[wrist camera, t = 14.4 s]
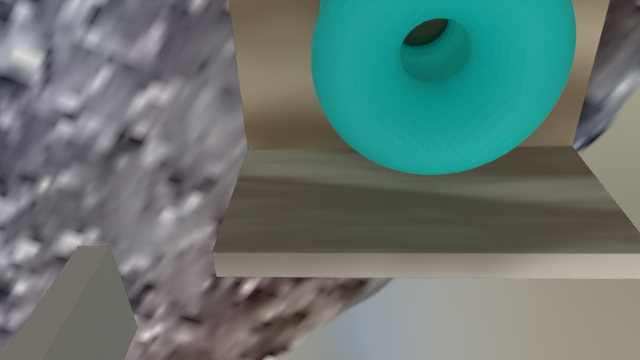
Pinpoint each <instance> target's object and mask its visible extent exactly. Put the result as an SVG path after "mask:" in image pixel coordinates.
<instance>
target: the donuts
mask: <svg viewBox="0 0 640 360" xmlns="http://www.w3.org/2000/svg"><path fill="white" fill-rule="evenodd" d="M436 18H444V19H448V24H447V26H446V28H445V30H444V31H443V33H442V34H441V35H440V36H439V37H438V38H437V39H436V40H434V41H432V42H431V43H429V44H426V45H422V46H409V45H406V44H404V43H403V41H404V39H405V38H406V36H407V35H408V34H409V32H410V31H411V30H413V29H414V28H415V27H416V26H418V25H419V24H421V23H423V22H425V21H428V20H432V19H436ZM575 48H576V20H575V13H574V8H573V4H572V0H320V9H319V14H318V17H317V21H316V24H315V28H314V33H313V39H312V46H311V70H312V79H313V83H314V88H315V92H316V95H317V98H318V100H319V103H320V105H321V107H322V109H323V112H324V113H325V115H326V117H327V119H328V120H329V122H330V124H331V125H332V126H333V128H334V129H335V131H336V132H337V133H338V134H339V135H340V137H341V138H342V139H343V140H344V141H345V142H346V143H347V144H348V145H350V146H351V147H352V148H353V149H354V150H356V151H357V152H358V153H360V154H361V155H363V156H364V157H366V158H368V159H370V160H371V161H373V162H375V163H378V164H380V165H382V166H385V167H388V168H390V169H394V170H397V171H401V172H406V173H411V174H420V175H442V174H451V173H457V172H462V171H466V170H470V169H473V168H476V167H479V166H481V165H484V164H487V163H489V162H491V161H493V160H495V159H497V158H499V157H501V156H503V155H504V154H506V153H507V152H509V151H511V150H512V149H514V148H515V147H516V146H518V145H519V144H520V143H522V142H523V141H524V140H525V139H526V138H528V137H529V136H530V135H531V134H532V133H533V132H534V131H535V130H536V129H537V128H538V127H539V126H540V124H541V123H542V122H543V121H544V120H545V118H546V117H547V116H548V115H549V113H550V112H551V110H552V109H553V107H554V106H555V104H556V102H557V101H558V99H559V97H560V95H561V93H562V91H563V89H564V87H565V85H566V82H567V80H568V77H569V74H570V71H571V68H572V64H573V60H574V55H575Z"/></svg>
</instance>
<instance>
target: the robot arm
mask: <svg viewBox="0 0 640 360" xmlns="http://www.w3.org/2000/svg"><path fill="white" fill-rule="evenodd" d="M137 328H138V327H137V324H136V321H135V318H134V315H133V312H132V309H131V306H130V303H129V300H128V297H127V295H126V292H125V289H124V286H123V283H122V280H121V277H120V274H119V271H118V268H117V265H116V262H115V260H114V257H113V254H112V251H111V248H110V246H78V247H77V249H76V250H75V251H74V253H73V254H72V256H71V257H70V259H69V260H68V262H67V263H66V265H65V266H64V268H63V269H62V271H61V272H60V273H59V275H58V276H57V278H56V279H55V281H54V282H53V284H52V285H51V287H50V288H49V290H48V291H47V292H46V294H45V295H44V297H43V298H42V300H41V301H40V303H39V304H38V306H37V307H36V309H35V310H34V311H33V313H32V314H31V316H30V317H29V319H28V320H27V322H26V323H25V325H24V326H23V328H22V329H21V330H20V332H19V333H18V335H17V336H16V338H15V339H14V341H13V342H12V344H11V345H10V347H9V348H8V349H7V351H6V352H5V354H4V355H3V357H2V358H1V360H124V358H125V356H126V353H127V351H128V349H129V347H130V344H131V342H132V340H133V337H134V335H135V333H136V330H137Z"/></svg>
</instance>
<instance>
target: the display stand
mask: <svg viewBox="0 0 640 360" xmlns="http://www.w3.org/2000/svg"><path fill="white" fill-rule="evenodd" d="M609 2H610V0H572V4H573V8H574V13H575V20H576V48H575V55H574V60H573V64H572V68H571V71H570V74H569V77H568V80H567V82H566V85H565V87H564V89H563V91H562V93H561V95H560V97H559V99H558V101H557V102H556V104H555V106H554V107H553V109H552V110H551V112H550V113H549V115H548V116H547V117H546V118H545V120H544V121H543V122H542V123H541V124H540V126H539V127H538V128H537V129H536V130H535V131H534V132H533V133H532V134H531V135H530V136H529V137H528V138H526V139H525V140H524V141H523V142H522V143H520V144H519V145H518V146H516V147H515V148H514V149H512V150H511V151H509V152H507V153H506V154H504V155H503V156H501V157H499V158H497V159H495V160H493V161H491V162H489V163H487V164H484V165H481V166H479V167H476V168H473V169H470V170H466V171H462V172H457V173H451V174H442V175H420V174H411V173H406V172H401V171H397V170H394V169H390V168H388V167H385V166H382V165H380V164H378V163H375V162H373V161H371V160H370V159H368V158H366V157H364V156H363V155H361V154H360V153H358V152H357V151H356V150H354V149H353V148H352V147H351V146H350V145H348V144H347V143H346V142H345V141H344V140H343V139H342V138H341V137H340V135H339V134H338V133H337V132H336V131H335V129H334V128H333V126H332V125H331V124H330V122H329V120H328V119H327V117H326V115H325V113H324V112H323V109H322V107H321V105H320V103H319V100H318V98H317V95H316V92H315V88H314V83H313V79H312V70H311V46H312V39H313V33H314V28H315V24H316V21H317V17H318V14H319V9H320V0H229V6H230V14H231V22H232V29H233V37H234V45H235V53H236V60H237V68H238V76H239V83H240V91H241V99H242V107H243V114H244V122H245V130H246V138H247V145H248V151H247V154H246V157H245V160H244V162H243V165H242V168H241V171H240V174H239V177H238V180H237V183H236V186H235V188H234V191H233V194H232V197H231V200H230V203H229V206H228V209H227V211H226V214H225V217H224V220H223V223H222V226H221V229H220V232H219V234H218V237H217V240H216V243H215V246H214V249H213V252H212V255H213V260H214V265H215V270H216V275H217V277H382V278H573V279H574V278H575V279H581V278H582V279H583V278H584V279H588V278H589V279H640V233H639V231H638V230H637V229H636V228H635V226H634V225H633V224H632V222H631V221H630V220H629V219H628V217H627V216H626V215H625V213H624V212H623V211H622V209H621V208H620V207H619V206H618V204H617V203H616V202H615V201H614V199H613V198H612V197H611V196H610V194H609V193H608V192H607V190H606V189H605V188H604V187H603V185H602V184H601V183H600V181H599V180H598V179H597V178H596V176H595V175H594V174H593V172H592V171H591V170H590V169H589V167H588V166H587V165H586V164H585V162H584V161H583V160H582V158H581V157H580V156H579V155H578V153H577V152H576V151H575V150H574V148H573V147H572V144H573V140H574V136H575V132H576V128H577V125H578V121H579V117H580V113H581V109H582V105H583V101H584V98H585V94H586V90H587V86H588V82H589V78H590V75H591V71H592V67H593V63H594V59H595V55H596V51H597V48H598V44H599V40H600V36H601V32H602V28H603V25H604V21H605V17H606V13H607V9H608V5H609ZM447 24H448V19H444V18H436V19H432V20H428V21H425V22H423V23H421V24H419V25H418V26H416V27H415V28H414V29H413V30H411V31H410V32H409V34H408V35H407V36H406V38H405V39H404V41H403V43H404V44H406V45H409V46H422V45H426V44H429V43H431V42H432V41H434V40H436V39H437V38H438V37H439V36H440V35H441V34H442V33H443V31H444V30H445V28H446V26H447Z"/></svg>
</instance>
